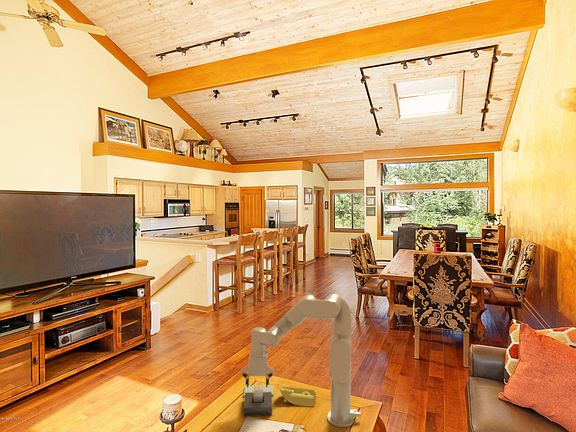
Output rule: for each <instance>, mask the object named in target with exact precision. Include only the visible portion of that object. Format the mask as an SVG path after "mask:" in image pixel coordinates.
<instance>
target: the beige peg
mask: <svg viewBox="0 0 576 432" xmlns="http://www.w3.org/2000/svg"><path fill="white" fill-rule="evenodd" d="M253 403H263V386H254V402H253Z"/></svg>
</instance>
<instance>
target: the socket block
mask: <svg viewBox="0 0 576 432" xmlns="http://www.w3.org/2000/svg"><path fill="white" fill-rule="evenodd" d="M272 397H273V396H272V392H263V403H253V402H254V392H252V393H245V397H244V399H243V409H242V410H243V417H259V416H260V417H262V416H263V417H264V416H266V417H267V416H273V398H272Z"/></svg>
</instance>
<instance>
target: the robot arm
mask: <svg viewBox="0 0 576 432" xmlns="http://www.w3.org/2000/svg"><path fill="white" fill-rule="evenodd" d="M308 318H311V319H333V332H332V333H333V334H332V339H331V342H330V347H329V365H328V366H329V368H328V369H329V371H328V372H329V376H330V411H329V412H328V413H327V416H326V417H327V421H328V422H329V423H330V424H331V425H332V426H335V427H336V428H337V427H338V428H347V427H350V426H352V425H353V424H354V421H355V419H354V418H355V417H357V418H359V417H360V418H361V412H360V411H357V409H351V408H352V407H351V406H352V405H351V404H352V402H351V398H352V397H351V396H352V394H351V393H352V347H353V345H352V343H353V342H352V312H351V309H350V306H349V304H348V302H347V301H346V300H345V299H344V298H343V296H341V295H339V294H336V293H331V294H328V295H327V296H326V297H325V298H324V299H317V298H316V297H315V295H312V294H306V295H303V296H302V297H301V298H300V299H299V300H298V301H297V302H296V303H295V304H294V305H293V306H292V307H291V308H290V309H289V310H288V311H287V312H286V313H285V314H284V315H283V316H282V317H281V318H280V319H279V320H278V321H277V322H275V323H274V325H273V326H271V328H270V329H268V330H266V328H264V327H259V326H258V327H257V326H256V327H253V329H252V330H251V335H250V336H251V338H250V340H251V342H250V353H249V355H248V364H247V366H244V367H243V368H241V369H240V373H241V375H242V377H243V378H245V386H247V387H249V386H250V383H249V381H250V377H265V385H266V387H267V385H270V379H271V378H272V377H273V375H274V373H275V371H276V370H275V368H273V367H271V366H269V365H268V364H269V363H268V354H269V350H268V349H267V347H270V348H274V347H275V348H276V347H277V346H278V344H279V343H280V341H281V339H283V337H284V336H285V335H287V334H288V332H290V331H291V330H292V329H293V328H296V327H299V325H301V324H302V323H303V322H304V321H305V320H306V319H308ZM268 370H269V371H270V372H269V371H268ZM246 371H247V373H246ZM268 372H269V373H268Z"/></svg>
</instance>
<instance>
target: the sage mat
mask: <svg viewBox="0 0 576 432" xmlns="http://www.w3.org/2000/svg"><path fill="white" fill-rule="evenodd" d="M254 386H263V392H272V397H274V385H273V384H269V385H267V387H266V384H264V385H263V384H259V385H249V387H247V385H244V389H243V398H245V393H252V392H254Z"/></svg>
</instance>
